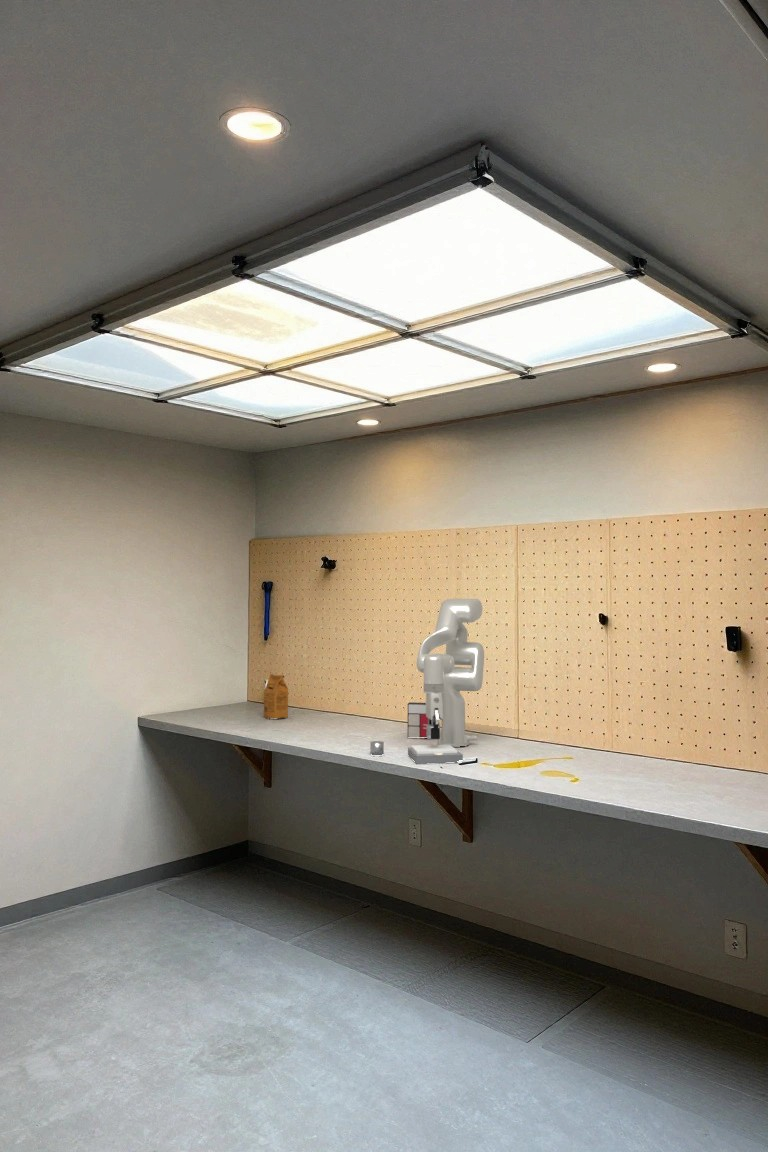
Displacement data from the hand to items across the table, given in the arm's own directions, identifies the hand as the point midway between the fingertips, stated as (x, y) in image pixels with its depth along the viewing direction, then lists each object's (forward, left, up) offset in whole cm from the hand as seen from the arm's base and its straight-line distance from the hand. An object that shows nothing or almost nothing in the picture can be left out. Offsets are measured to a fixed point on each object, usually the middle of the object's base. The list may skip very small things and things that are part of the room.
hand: (433, 737), depth 307 cm
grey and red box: (-4, -45, -8) cm, 46 cm away
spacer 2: (0, 0, -1) cm, 1 cm away
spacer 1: (+20, -9, -8) cm, 23 cm away
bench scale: (0, +2, -8) cm, 8 cm away
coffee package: (+56, -116, -8) cm, 129 cm away
